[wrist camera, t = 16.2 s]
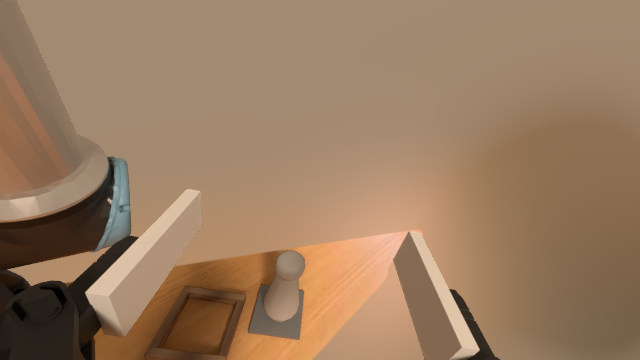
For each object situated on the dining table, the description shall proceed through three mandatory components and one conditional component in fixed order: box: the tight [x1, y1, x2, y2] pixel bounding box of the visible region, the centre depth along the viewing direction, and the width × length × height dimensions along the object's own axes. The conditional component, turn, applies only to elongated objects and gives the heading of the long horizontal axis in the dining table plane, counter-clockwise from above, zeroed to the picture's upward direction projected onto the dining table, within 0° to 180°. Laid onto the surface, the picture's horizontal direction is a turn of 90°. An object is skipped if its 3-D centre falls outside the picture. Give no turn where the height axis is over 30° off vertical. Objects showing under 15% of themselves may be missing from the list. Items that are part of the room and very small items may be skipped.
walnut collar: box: [144, 286, 246, 360], centre depth 35 cm, size 10×10×2 cm
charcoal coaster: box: [248, 284, 304, 340], centre depth 39 cm, size 8×8×1 cm
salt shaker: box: [264, 250, 305, 323], centre depth 36 cm, size 6×6×13 cm
